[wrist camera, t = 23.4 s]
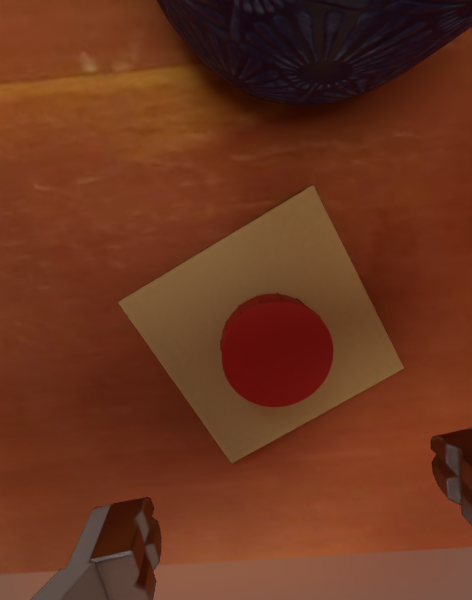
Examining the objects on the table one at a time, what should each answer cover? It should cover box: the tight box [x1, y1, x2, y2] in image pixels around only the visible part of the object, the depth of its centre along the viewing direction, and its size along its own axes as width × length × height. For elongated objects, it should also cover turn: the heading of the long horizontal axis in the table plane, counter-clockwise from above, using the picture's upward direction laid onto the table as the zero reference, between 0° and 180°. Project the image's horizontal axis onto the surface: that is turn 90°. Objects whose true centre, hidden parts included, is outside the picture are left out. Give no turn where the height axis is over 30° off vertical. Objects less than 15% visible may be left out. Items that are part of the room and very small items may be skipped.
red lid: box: [220, 293, 333, 407], centre depth 19 cm, size 7×7×2 cm
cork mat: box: [118, 185, 404, 463], centre depth 21 cm, size 14×14×1 cm
